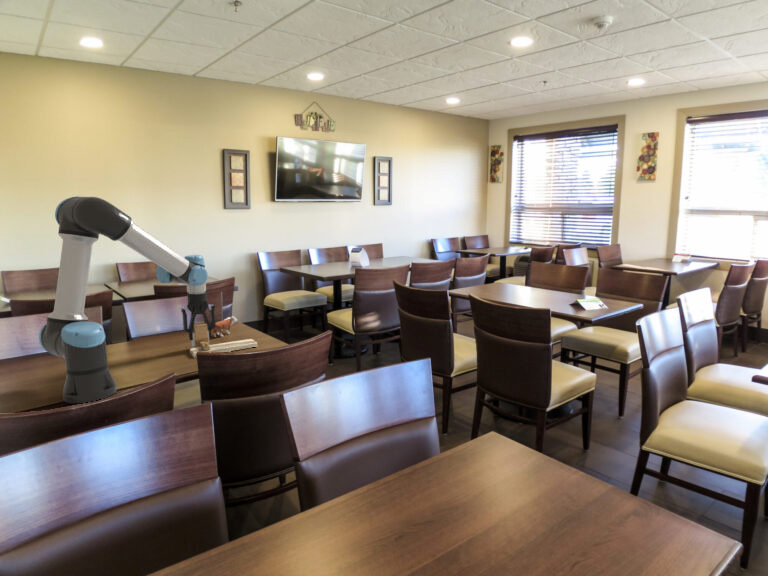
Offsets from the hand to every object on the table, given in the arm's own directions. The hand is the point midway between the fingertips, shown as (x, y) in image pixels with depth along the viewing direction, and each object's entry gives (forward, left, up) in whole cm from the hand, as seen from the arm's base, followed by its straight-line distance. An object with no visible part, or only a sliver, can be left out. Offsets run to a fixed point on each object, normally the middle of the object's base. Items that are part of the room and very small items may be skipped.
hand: (201, 345), depth 210 cm
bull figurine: (+17, -15, -2) cm, 22 cm away
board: (-7, -8, -1) cm, 11 cm away
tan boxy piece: (-4, 0, -1) cm, 4 cm away
